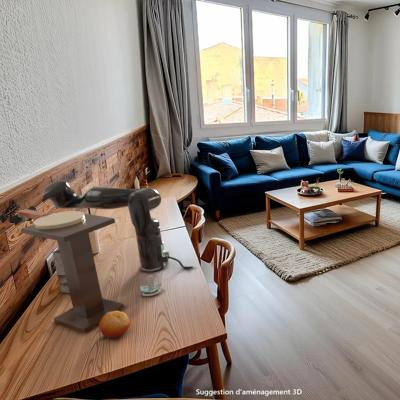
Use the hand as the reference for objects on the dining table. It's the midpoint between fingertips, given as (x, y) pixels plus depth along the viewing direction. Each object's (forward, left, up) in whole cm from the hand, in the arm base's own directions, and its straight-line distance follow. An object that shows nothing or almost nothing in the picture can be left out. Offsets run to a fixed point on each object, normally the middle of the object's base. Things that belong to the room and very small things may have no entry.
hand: (19, 212), depth 112 cm
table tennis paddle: (-11, +8, -1) cm, 14 cm away
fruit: (-31, +26, -33) cm, 52 cm away
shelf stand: (-19, +13, -33) cm, 40 cm away
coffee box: (-9, -7, -33) cm, 35 cm away
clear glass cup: (-37, +4, -33) cm, 50 cm away
